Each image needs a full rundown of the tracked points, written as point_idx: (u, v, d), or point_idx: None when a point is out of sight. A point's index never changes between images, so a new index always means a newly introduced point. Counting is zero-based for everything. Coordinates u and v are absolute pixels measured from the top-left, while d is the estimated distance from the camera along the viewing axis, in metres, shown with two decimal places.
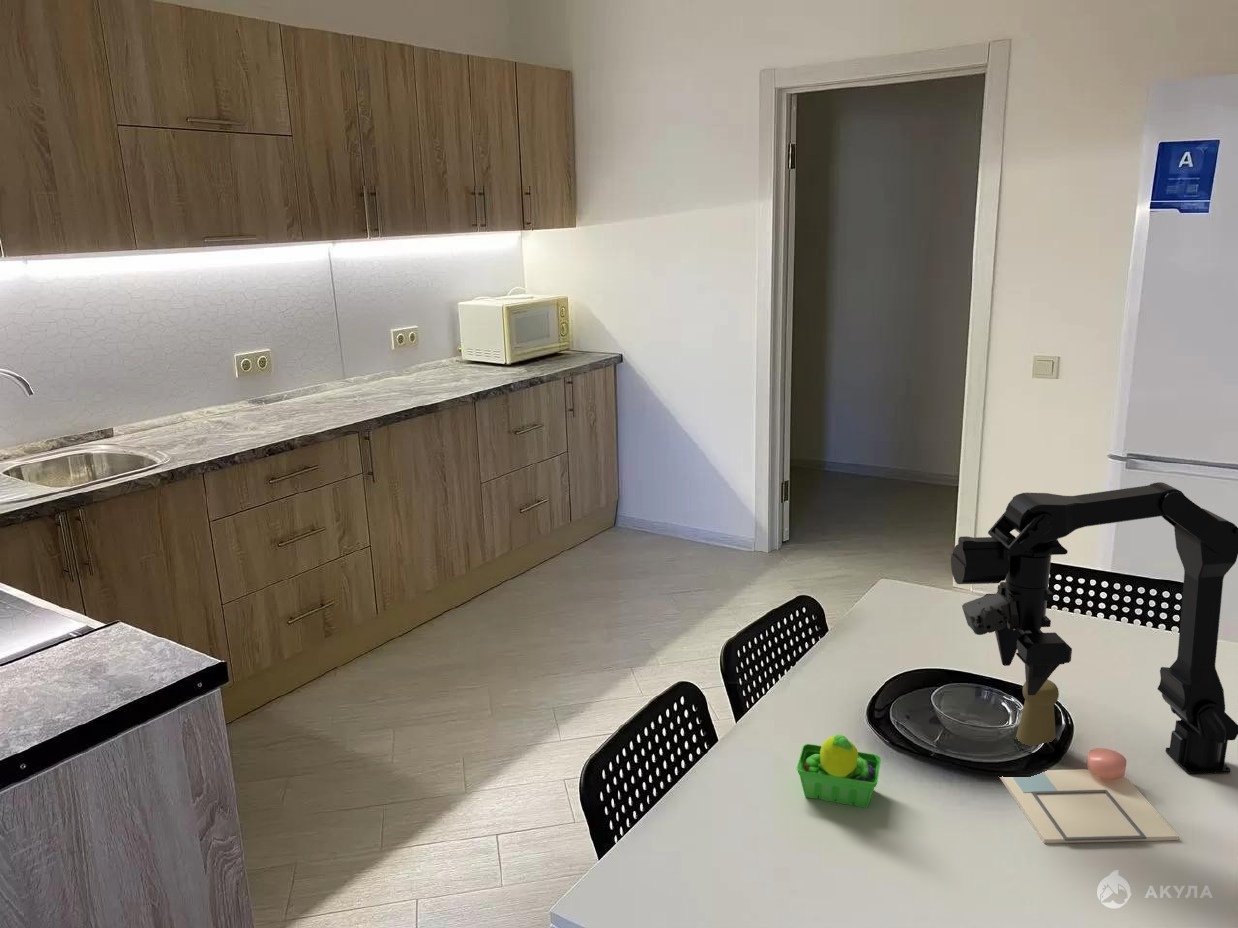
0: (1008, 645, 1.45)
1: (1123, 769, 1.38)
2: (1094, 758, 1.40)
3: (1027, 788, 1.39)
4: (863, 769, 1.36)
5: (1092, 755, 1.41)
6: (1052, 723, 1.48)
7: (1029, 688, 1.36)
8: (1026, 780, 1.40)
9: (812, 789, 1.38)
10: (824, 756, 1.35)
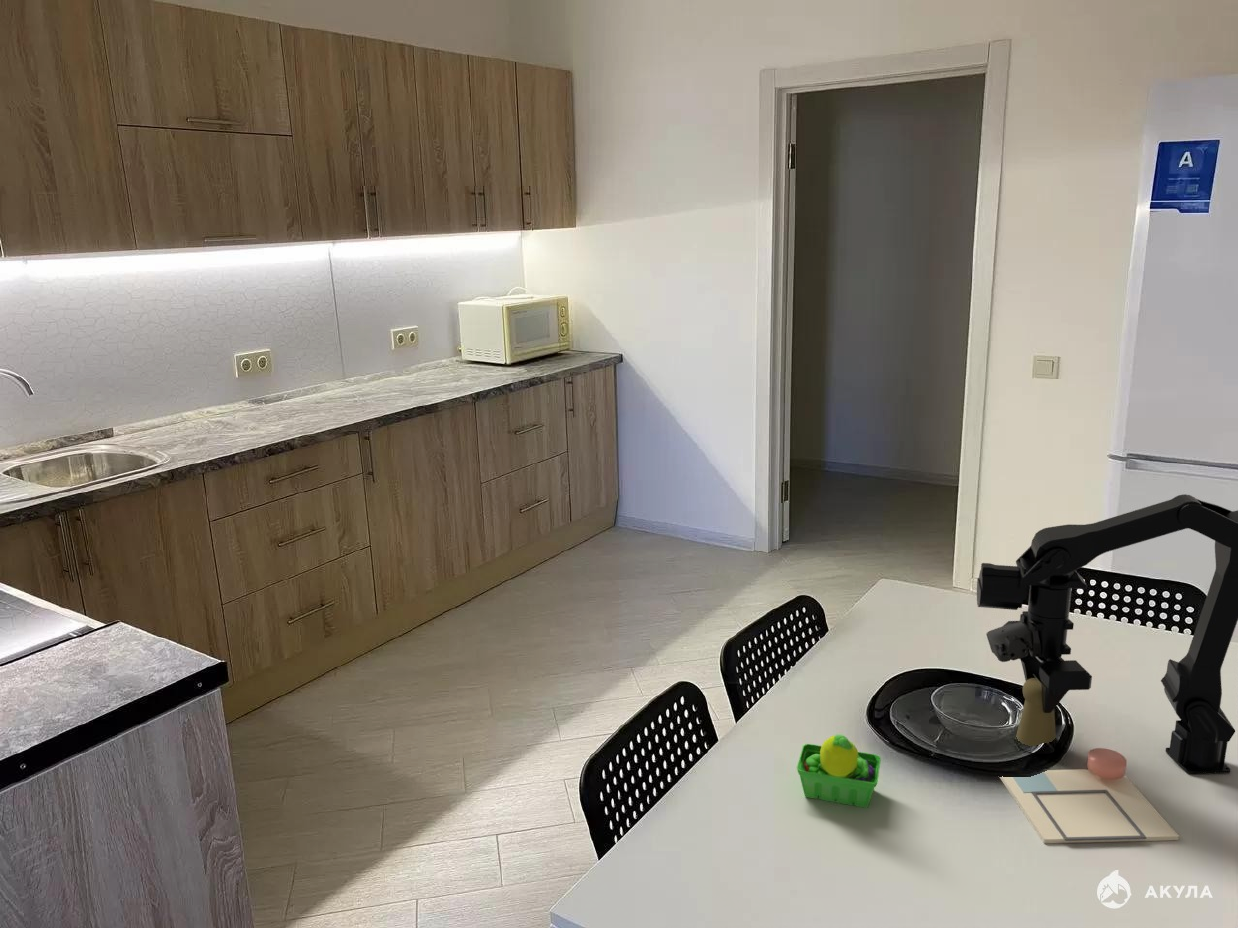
0: (1034, 675, 1.51)
1: (1123, 769, 1.38)
2: (1094, 758, 1.40)
3: (1027, 788, 1.39)
4: (863, 769, 1.36)
5: (1092, 755, 1.41)
6: (1052, 723, 1.48)
7: (1045, 706, 1.45)
8: (1026, 780, 1.40)
9: (812, 789, 1.38)
10: (824, 756, 1.35)
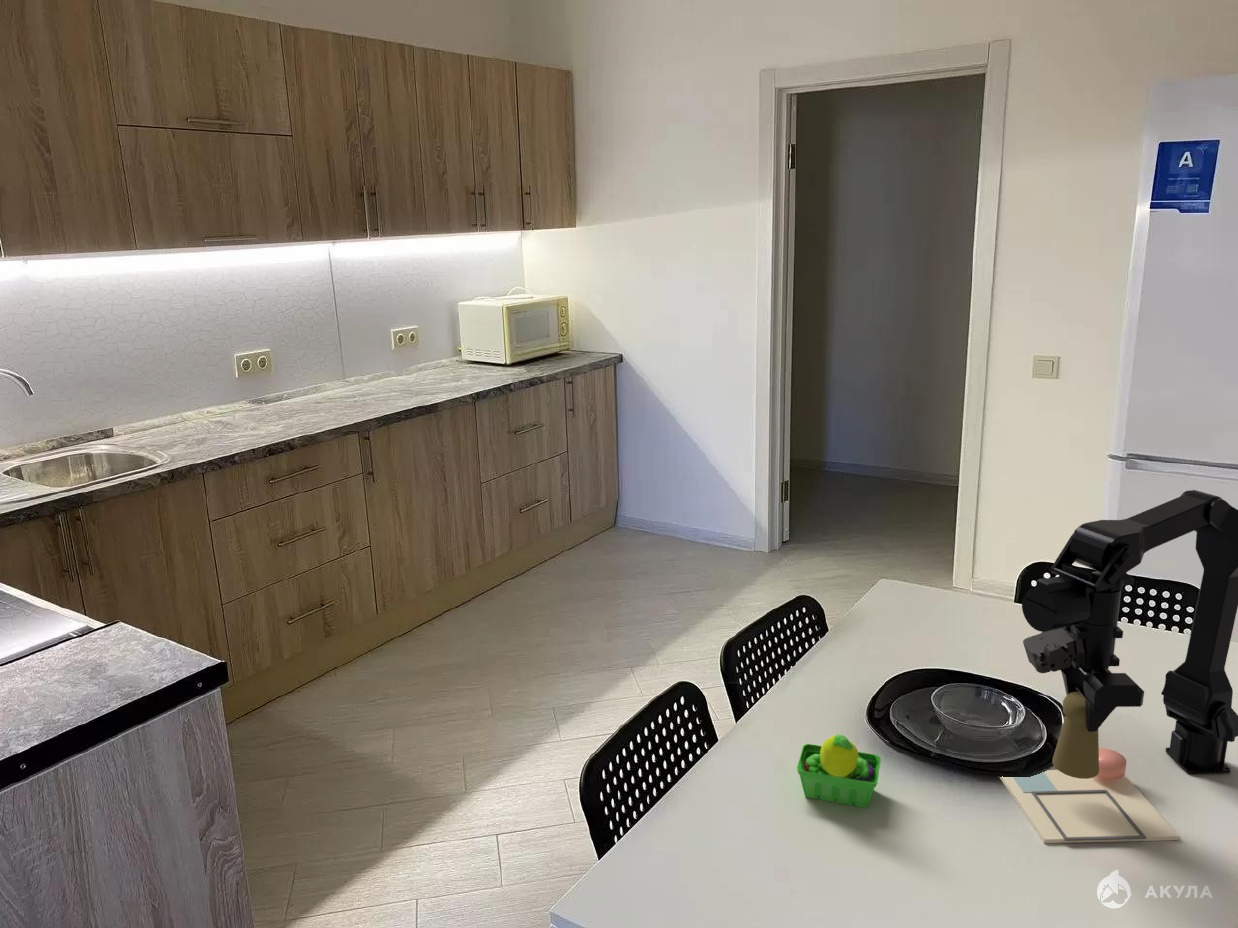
0: (1077, 689, 1.34)
1: (1123, 769, 1.38)
2: None
3: (1027, 788, 1.39)
4: (863, 769, 1.36)
5: None
6: (1095, 743, 1.32)
7: (1089, 724, 1.29)
8: (1026, 780, 1.40)
9: (812, 789, 1.38)
10: (824, 756, 1.35)
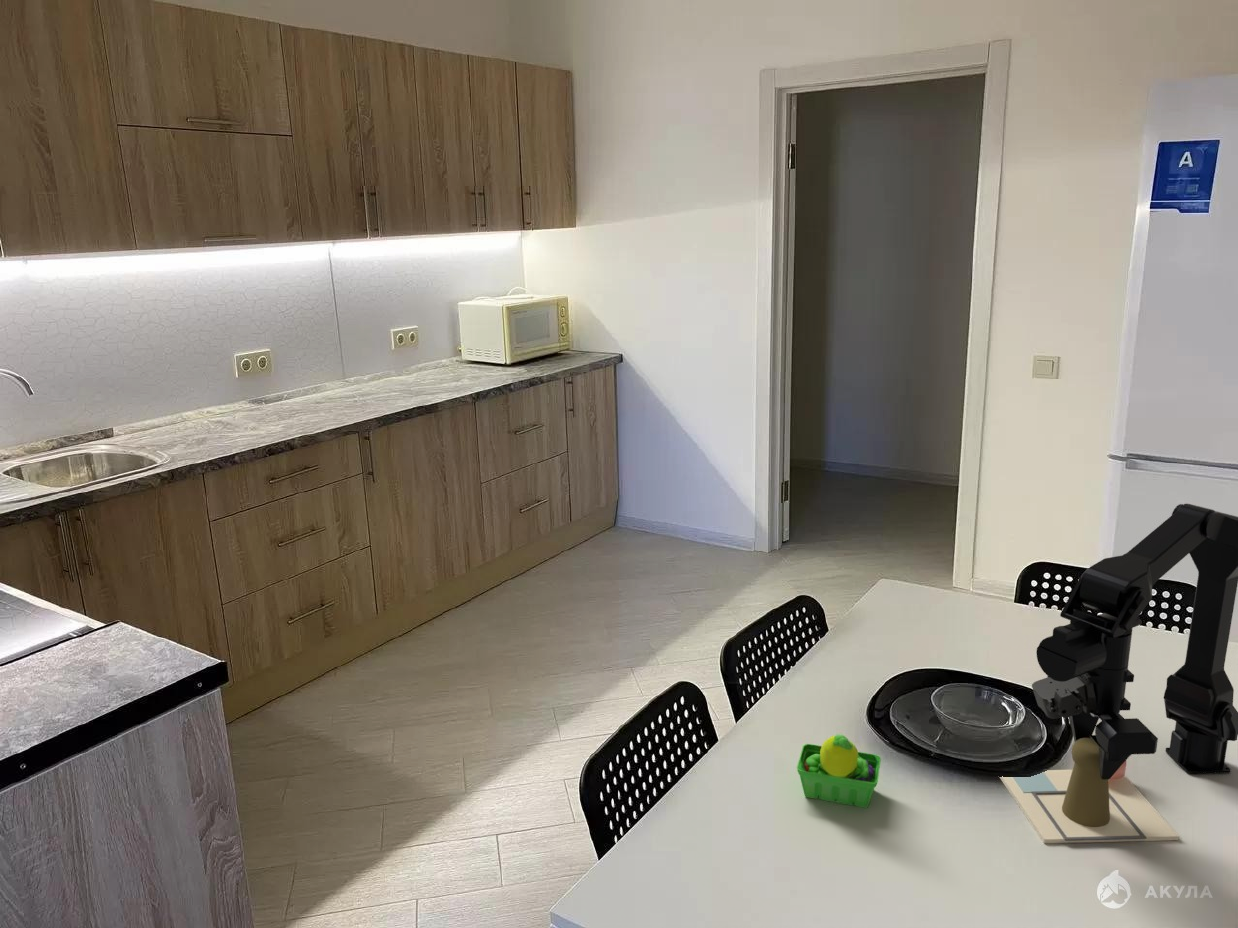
0: (1083, 729, 1.33)
1: (1123, 769, 1.38)
2: None
3: (1027, 788, 1.39)
4: (863, 769, 1.36)
5: None
6: (1106, 790, 1.30)
7: (1103, 772, 1.26)
8: (1026, 780, 1.40)
9: (812, 789, 1.38)
10: (824, 756, 1.35)
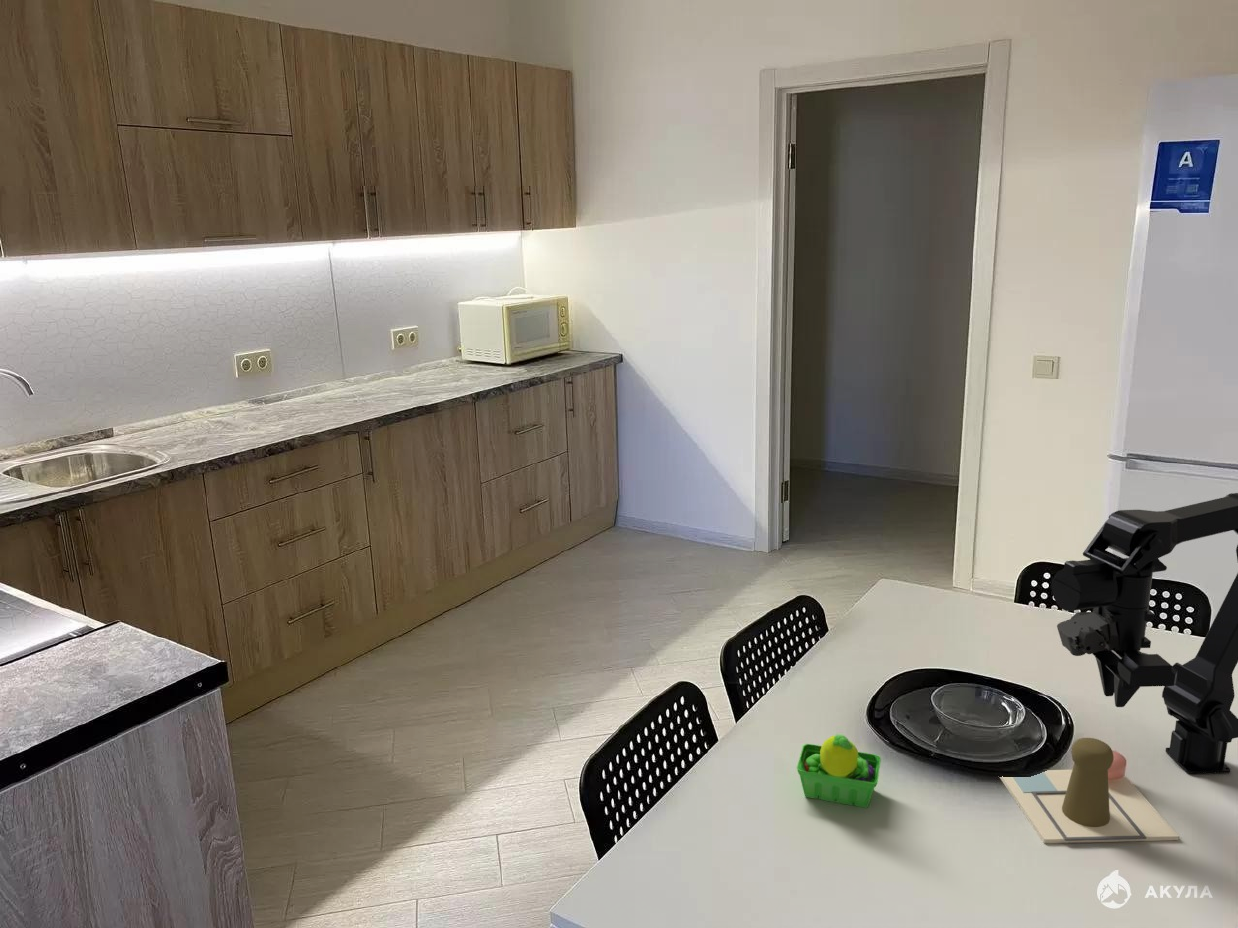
0: (1111, 675, 1.38)
1: (1123, 769, 1.38)
2: None
3: (1027, 788, 1.39)
4: (863, 769, 1.36)
5: None
6: (1106, 790, 1.30)
7: (1118, 700, 1.35)
8: (1026, 780, 1.40)
9: (812, 789, 1.38)
10: (824, 756, 1.35)
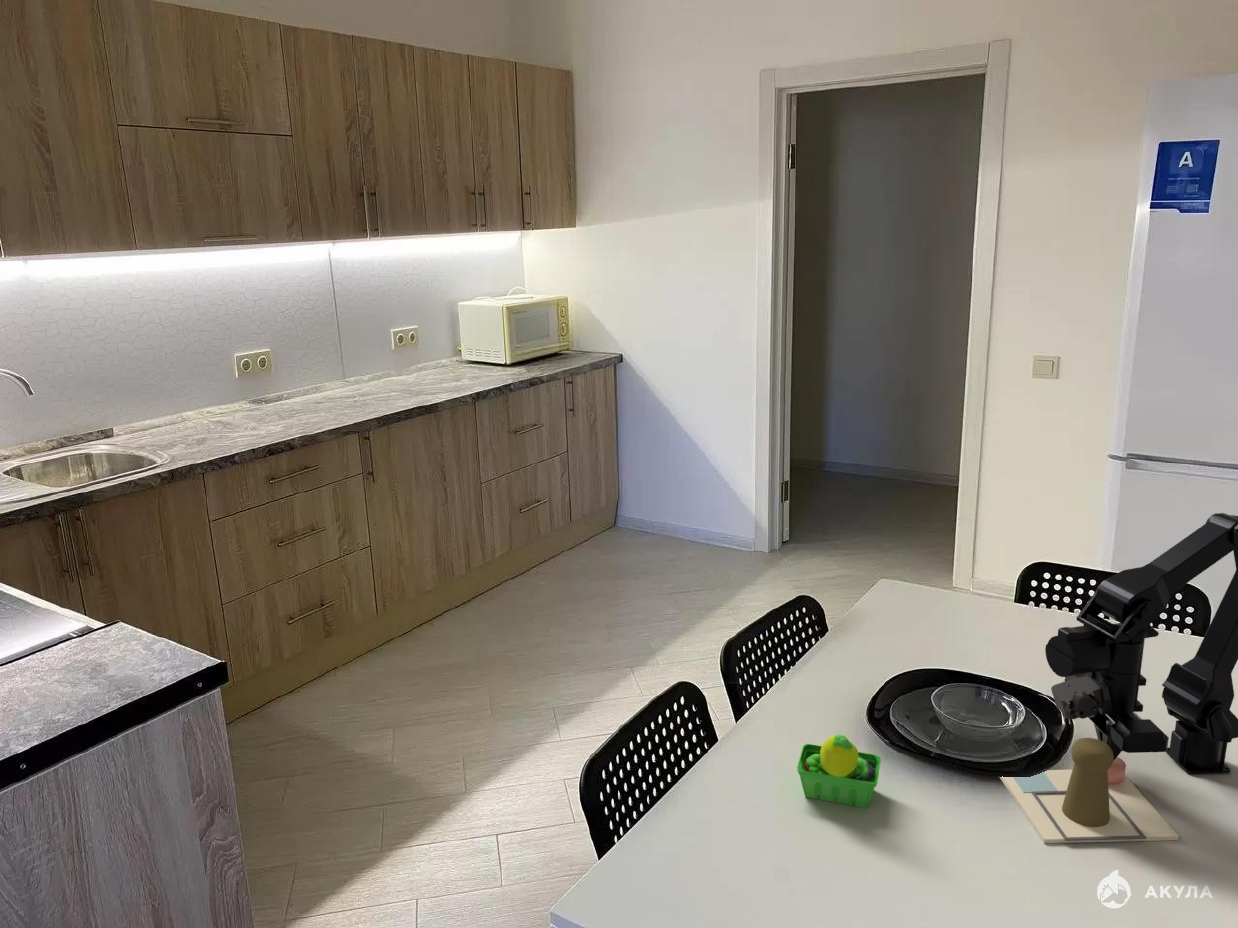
0: None
1: (1122, 773, 1.39)
2: None
3: (1027, 788, 1.39)
4: (863, 769, 1.36)
5: None
6: (1106, 790, 1.30)
7: None
8: (1026, 780, 1.40)
9: (812, 789, 1.38)
10: (824, 756, 1.35)
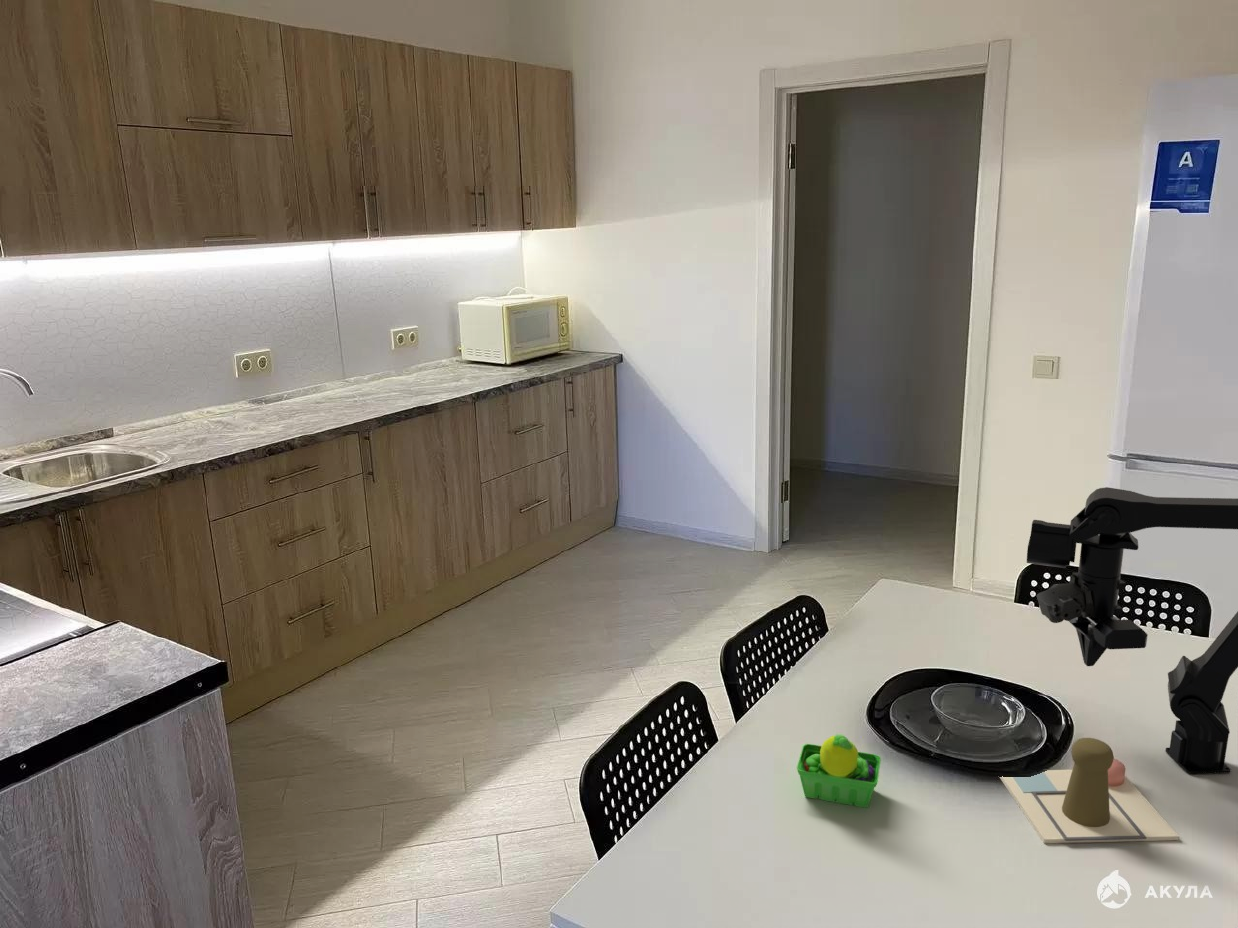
0: None
1: (1122, 776, 1.39)
2: None
3: (1027, 788, 1.39)
4: (863, 769, 1.36)
5: None
6: (1106, 790, 1.30)
7: (1088, 659, 1.47)
8: (1026, 780, 1.40)
9: (812, 789, 1.38)
10: (824, 756, 1.35)
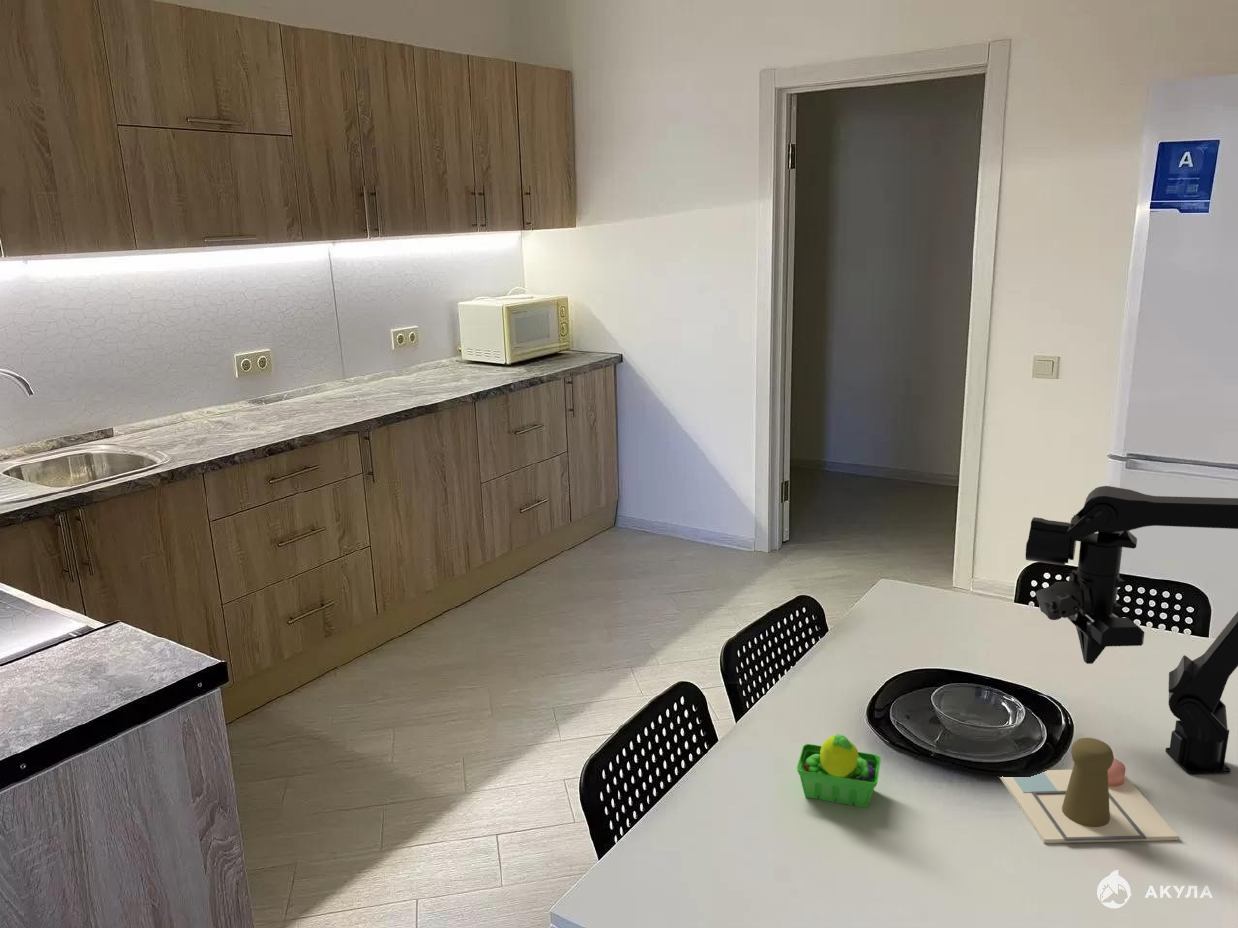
0: None
1: (1122, 776, 1.39)
2: None
3: (1027, 788, 1.39)
4: (863, 769, 1.36)
5: None
6: (1106, 790, 1.30)
7: (1087, 657, 1.48)
8: (1026, 780, 1.40)
9: (812, 789, 1.38)
10: (824, 756, 1.35)
